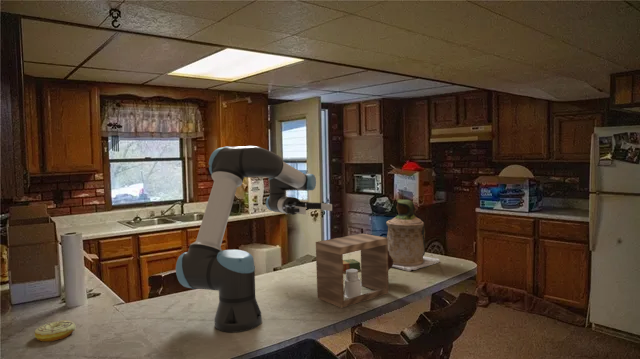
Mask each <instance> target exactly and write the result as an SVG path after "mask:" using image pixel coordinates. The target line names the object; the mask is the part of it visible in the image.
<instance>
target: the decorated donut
mask: <svg viewBox="0 0 640 359" xmlns="http://www.w3.org/2000/svg"><path fill="white" fill-rule="evenodd" d="M76 328H77V327H76V324H75V322H73V321H71V320H67V319H66V320H63V319H62V320H57V321H51V322H49V323H46V324H42V325H40V326H38V327H37V328H36V329H35V330H34V337H35V339H37V341H40V342H43V343H44V342H54V341H58V340H63V339H65V338H67V337H69V336H70V335H71V334H72V333H74V331H75V330H76Z"/></svg>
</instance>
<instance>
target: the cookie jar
mask: <svg viewBox="0 0 640 359" xmlns="http://www.w3.org/2000/svg"><path fill="white" fill-rule="evenodd" d="M395 209H396V210H397V213H398V214H397V215H396V216H395V217H393V218H391V219H388V220H387V221H386V226H387V234H386V238H388V251H389V255H390V256H391V258H392V259H393V265H392V267H391V268H396V269H400V270H403V271H406V272H409V273H410V272H411V271H412V270H413V271H417V270H419V269H423V268H426V267H429V266H432V265H435V264H436V265H437V264H439V263H440V259H439V258H437V257H436V258H435V257H429V256H426V255H425V254H426V249H425V247H426V243H425V238H426V229H425V222H424V221H423V220H421V218H418V217H417V215H416V214H417V213H416V212H417V211H418V210H419V206H418V204H417V203H414V202H413V201H412V200H410V199H402V198H401V199H400V198H399V197H397V198H396V208H395Z"/></svg>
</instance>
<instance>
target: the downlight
mask: <svg viewBox="0 0 640 359" xmlns="http://www.w3.org/2000/svg"><path fill="white" fill-rule="evenodd" d="M362 287H363V286H362V282H361V278H360V277H359V270H357V269H348V270H346V272H345V279H344V298H346V299H350V298H353V297H357V296H360V295H363V293H362Z"/></svg>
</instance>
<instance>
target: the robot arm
mask: <svg viewBox="0 0 640 359" xmlns="http://www.w3.org/2000/svg"><path fill="white" fill-rule="evenodd" d="M208 166H209V167H208V170H209V173H210V175H211V179H212V180H213V185H212V186H211V187H212V188H211V189H210V190H211V191H210V194H209V197H208V200H207V204H206V207H205V210H204V214H203V217H202V219H201V224H200V227H199V230H198V233H197V235H196V236H197V237H196V239H195V241H194V242H192V243H191V244H189V247H188V250H187V251H185V252H183V253H181V254H180V255H179V256H178V258H177V260H176V264H175V273H176V274H175V275H176V278H177V280H178V283H179V284H180V285H181V286H183V287H184V288H189V289H192V290H208V291H209V290H210V291H218V298H219V301H218V304H217V305H218V306H217V308H216V312H215V316H214V328H216V330H218V331H221V332H226V333H238V332H245V331H249V330H252V329H255V328H257V327H258V326H260V325H261V323H262V322H263V318H262V316H263V315H262V312H261V309H260V307H259V304H258V301H257V299H256V297H257V296H256V276H255V275H256V272H255V271H256V265H255V261H254V256H253V255H252V254H251V253H250V252H248V251H246V250H243V249H242V250H241V249H224V250H223V249H222V248H221V246H222V245H223V244H222V243H223V240H224V235H225V231H226V230H227V229H226V228H227V226H228V225H227V224H228V221H229V218H230V214H231V211H232V207H233V203H234V201H235V200H234V199H235V197H236V196H235V195H236V192H237V189H238V188H239V187H241V186H242V185H243V182H244V179H245V178H258V177H259V178H267V179H268V185H269V187H268V188H269V189H268V190H269V196H268V197H267V198H266V200H265V206H266V208H267V209H268V210H269V211H270V212H274V213H281V214H285V215H292V216H293V215H297V214H300V215H306V214H307V211H309V210H321V211H328V212H332V211H333V204H332V203H327V202H325V201H322V202H311V201H304V202H303V201H300V199H298V198H297V197H293V196H292V197H291V196H286V195H287V194H286V193H287V192H289V191H297V192H298V191H299V192H300V191H306V192H309V191H314V190H315V189H316V186H317V181H316V176H315V175H314V174H313V173H303V172H302V171H301V170H298V169H297V168H296V167H294V166H293V165H291V164H288V163H287V162H285V161H284V160H283V158H282V157H281V156H280V155H279V154H277V153H275V152H273V151H271V150H269V149H266V148H263V147H261V146H256V145H246V146H244V145H243V146H223V147H218V148H217V149H215V150H214V151H213V152H211V154H210V156H209V160H208ZM286 191H287V192H286Z"/></svg>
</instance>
